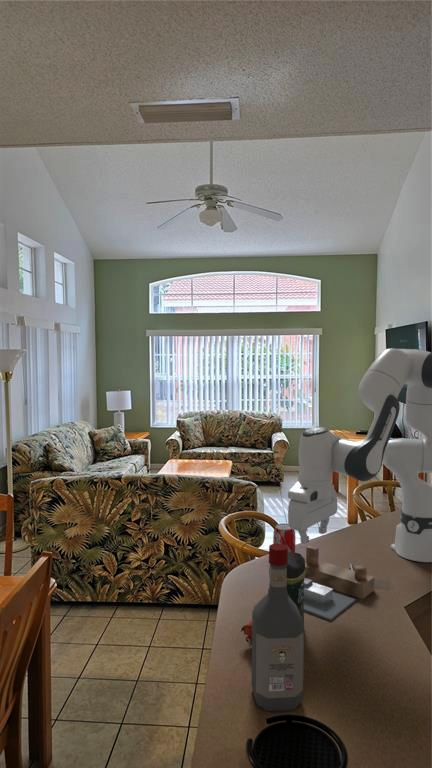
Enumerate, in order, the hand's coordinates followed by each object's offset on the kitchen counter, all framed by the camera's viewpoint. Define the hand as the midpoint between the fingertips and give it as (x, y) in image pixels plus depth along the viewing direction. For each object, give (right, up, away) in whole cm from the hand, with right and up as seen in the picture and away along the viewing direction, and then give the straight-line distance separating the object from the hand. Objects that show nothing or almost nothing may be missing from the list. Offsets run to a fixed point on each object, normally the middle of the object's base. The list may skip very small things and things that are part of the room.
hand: (313, 537), depth 142 cm
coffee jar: (-9, -18, -15) cm, 26 cm away
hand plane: (+8, -17, +10) cm, 21 cm away
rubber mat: (0, -17, +1) cm, 17 cm away
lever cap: (0, -17, +1) cm, 17 cm away
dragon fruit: (-15, -19, -23) cm, 34 cm away
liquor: (-15, -20, -39) cm, 46 cm away
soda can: (-5, -16, +26) cm, 31 cm away
